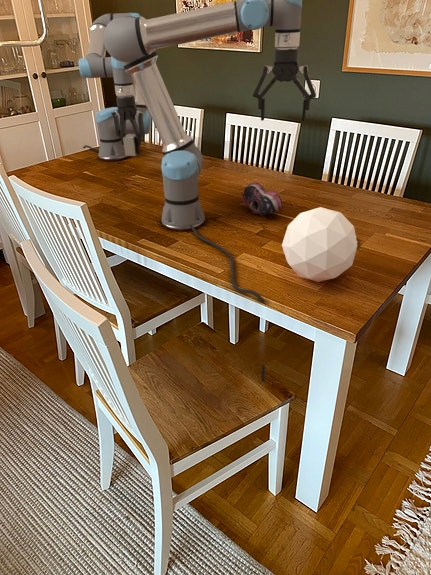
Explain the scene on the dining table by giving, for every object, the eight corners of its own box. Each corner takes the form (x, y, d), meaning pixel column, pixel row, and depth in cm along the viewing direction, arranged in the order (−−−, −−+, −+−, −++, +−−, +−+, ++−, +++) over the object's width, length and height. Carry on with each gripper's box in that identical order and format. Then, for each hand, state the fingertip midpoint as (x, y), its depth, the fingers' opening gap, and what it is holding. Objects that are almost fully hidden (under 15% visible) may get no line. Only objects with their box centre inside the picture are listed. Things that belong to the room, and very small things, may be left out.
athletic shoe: (254, 181, 170) (227, 189, 167) (283, 176, 151) (253, 185, 147) (260, 210, 173) (234, 218, 170) (290, 209, 154) (261, 219, 150)
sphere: (325, 304, 123) (342, 278, 104) (265, 266, 127) (271, 234, 108) (360, 253, 127) (382, 220, 109) (301, 218, 132) (312, 180, 113)
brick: (130, 151, 198) (127, 133, 193) (140, 152, 197) (138, 134, 192) (125, 155, 193) (122, 137, 189) (135, 156, 192) (133, 137, 188)
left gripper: (101, 97, 180) (110, 154, 193) (142, 97, 177) (149, 155, 190) (108, 94, 186) (116, 149, 199) (148, 94, 183) (154, 150, 196)
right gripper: (244, 49, 136) (244, 121, 147) (327, 48, 131) (320, 123, 142) (248, 47, 142) (248, 116, 154) (328, 46, 137) (321, 118, 148)
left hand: (132, 152), depth 195 cm, fingers closed on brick, 5 cm apart
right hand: (282, 120), depth 148 cm, fingers open, 13 cm apart
